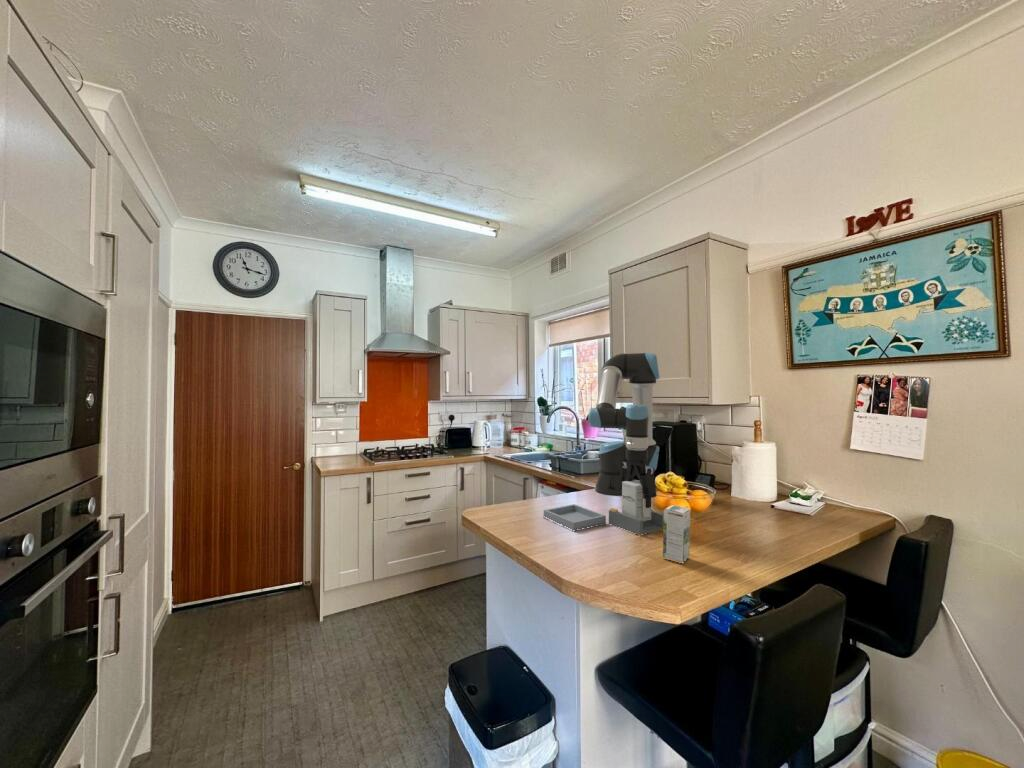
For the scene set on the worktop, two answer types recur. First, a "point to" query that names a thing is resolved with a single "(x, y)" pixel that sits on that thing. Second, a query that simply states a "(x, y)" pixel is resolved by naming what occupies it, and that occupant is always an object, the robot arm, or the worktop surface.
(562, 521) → the tray
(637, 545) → the worktop surface
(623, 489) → the supplement box
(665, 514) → the syrup box
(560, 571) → the worktop surface
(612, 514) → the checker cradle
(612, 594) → the worktop surface
